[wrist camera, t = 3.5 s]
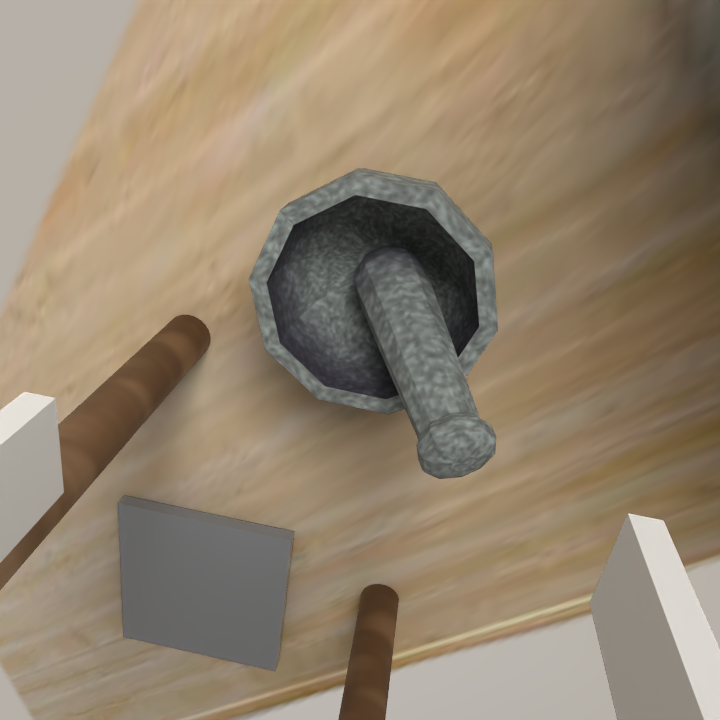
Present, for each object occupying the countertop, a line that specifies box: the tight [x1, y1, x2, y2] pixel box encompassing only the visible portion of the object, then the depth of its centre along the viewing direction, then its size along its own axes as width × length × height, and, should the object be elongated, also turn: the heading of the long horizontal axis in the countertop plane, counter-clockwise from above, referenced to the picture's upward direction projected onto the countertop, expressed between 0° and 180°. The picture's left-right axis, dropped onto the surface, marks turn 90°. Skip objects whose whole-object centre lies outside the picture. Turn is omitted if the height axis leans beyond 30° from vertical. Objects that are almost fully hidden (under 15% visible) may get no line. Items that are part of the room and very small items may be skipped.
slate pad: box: [118, 496, 294, 671], centre depth 42 cm, size 11×12×1 cm
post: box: [0, 315, 210, 590], centre depth 22 cm, size 3×3×26 cm
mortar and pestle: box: [249, 169, 498, 479], centre depth 25 cm, size 11×9×12 cm
